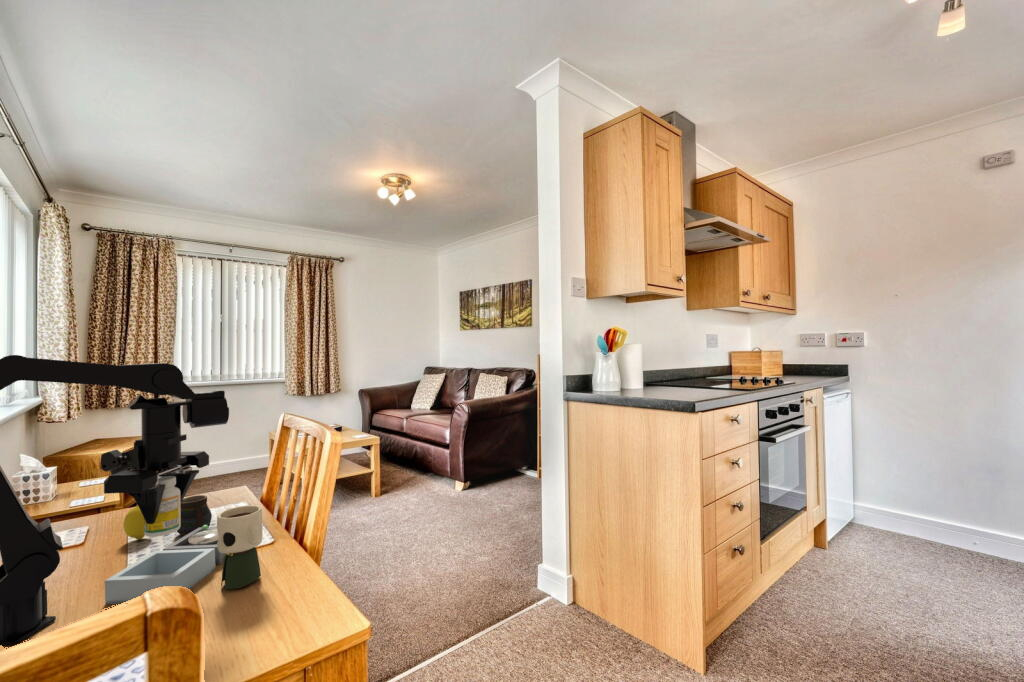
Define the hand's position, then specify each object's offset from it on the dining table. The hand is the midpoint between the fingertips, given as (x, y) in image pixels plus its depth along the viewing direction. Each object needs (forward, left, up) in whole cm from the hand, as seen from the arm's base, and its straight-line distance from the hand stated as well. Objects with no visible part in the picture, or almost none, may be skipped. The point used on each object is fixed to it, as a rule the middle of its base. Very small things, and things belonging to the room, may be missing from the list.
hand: (162, 517), depth 84 cm
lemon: (+22, +21, -13) cm, 33 cm away
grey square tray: (+13, 0, -12) cm, 18 cm away
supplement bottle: (0, 0, -3) cm, 3 cm away
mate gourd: (+25, +11, -13) cm, 30 cm away
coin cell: (+13, 0, -11) cm, 17 cm away
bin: (0, 0, -12) cm, 12 cm away
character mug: (0, -14, -13) cm, 19 cm away
